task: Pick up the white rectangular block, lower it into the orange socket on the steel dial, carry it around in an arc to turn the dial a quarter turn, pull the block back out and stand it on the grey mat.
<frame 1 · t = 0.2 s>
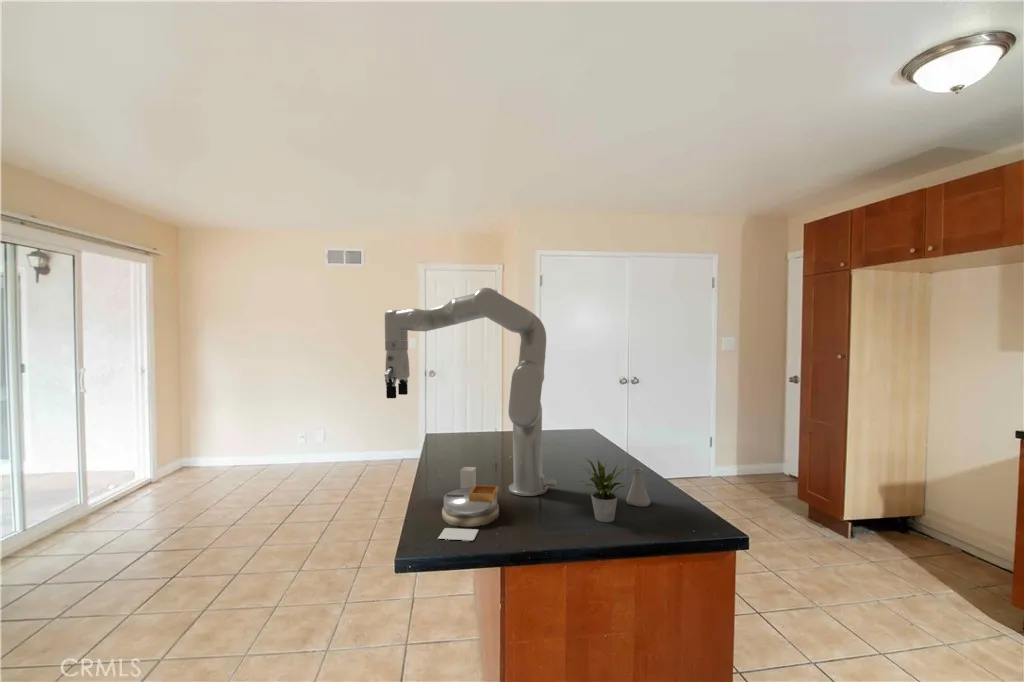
hand: (397, 396, 149), 31 cm above the worktop, tool pointing down, fingers open, 9 cm apart
flask: (638, 503, 130), on the worktop
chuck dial: (470, 498, 123), point 5 cm above the worktop, hinge at 0.0°
key mat: (458, 535, 111), on the worktop
house plant: (599, 518, 120), on the worktop
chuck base: (470, 515, 123), on the worktop
white rectangular block: (468, 497, 137), on the worktop
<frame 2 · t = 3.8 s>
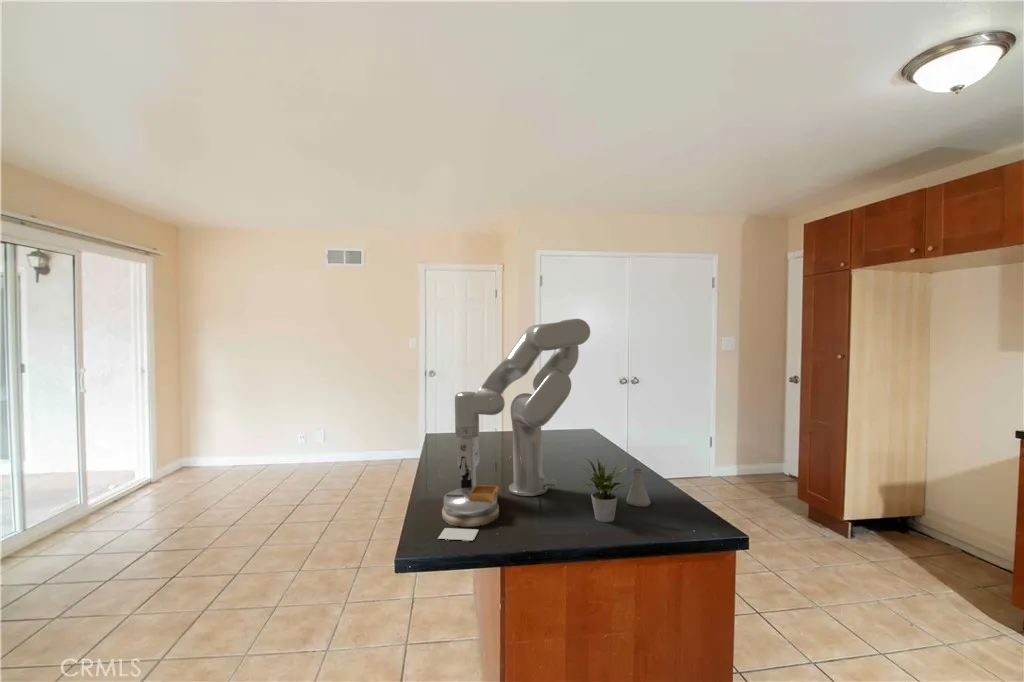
hand: (468, 488, 137), 3 cm above the worktop, tool pointing down, fingers closed on white rectangular block, 3 cm apart
white rectangular block: (468, 497, 137), on the worktop, touching gripper
everything else where it was.
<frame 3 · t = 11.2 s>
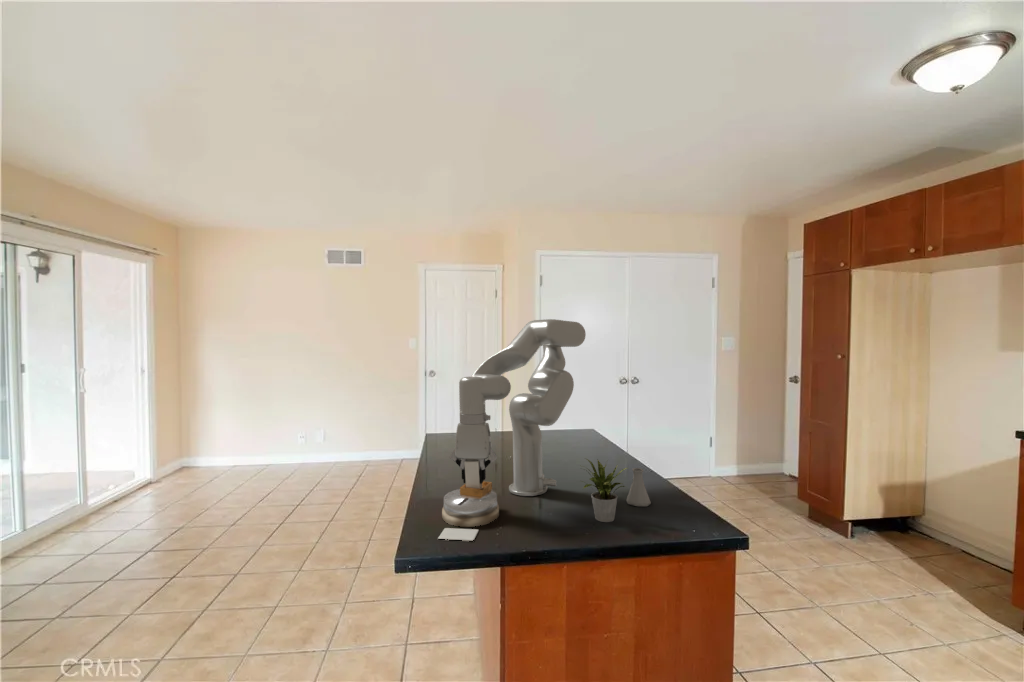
hand: (473, 481, 127), 8 cm above the worktop, tool pointing down, fingers closed on white rectangular block, 4 cm apart
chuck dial: (470, 498, 123), point 5 cm above the worktop, hinge at 77.9°, touching white rectangular block
white rectangular block: (474, 490, 127), point 6 cm above the worktop, touching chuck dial, gripper
everything else where it was.
when the fingers open (4 cm above the worktop, at t = 17.6 s): white rectangular block stays where it is, resting on key mat.
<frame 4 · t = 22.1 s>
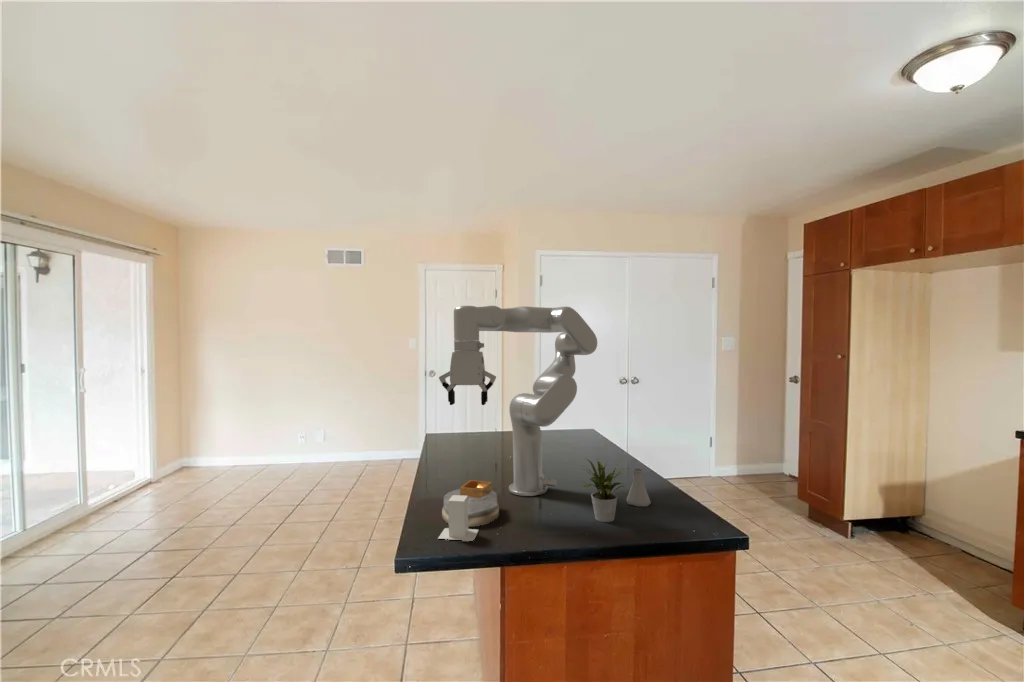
hand: (467, 404, 131), 30 cm above the worktop, tool pointing down, fingers open, 9 cm apart
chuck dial: (470, 498, 123), point 5 cm above the worktop, hinge at 78.7°
white rectangular block: (458, 533, 111), resting on key mat
everything else where it was.
at the end: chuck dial at +79° (first picture: +0°); white rectangular block inside the target area on the key mat (0.1 cm from its centre), point 0.4 cm above the key mat's base; white rectangular block tilted 0° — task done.
